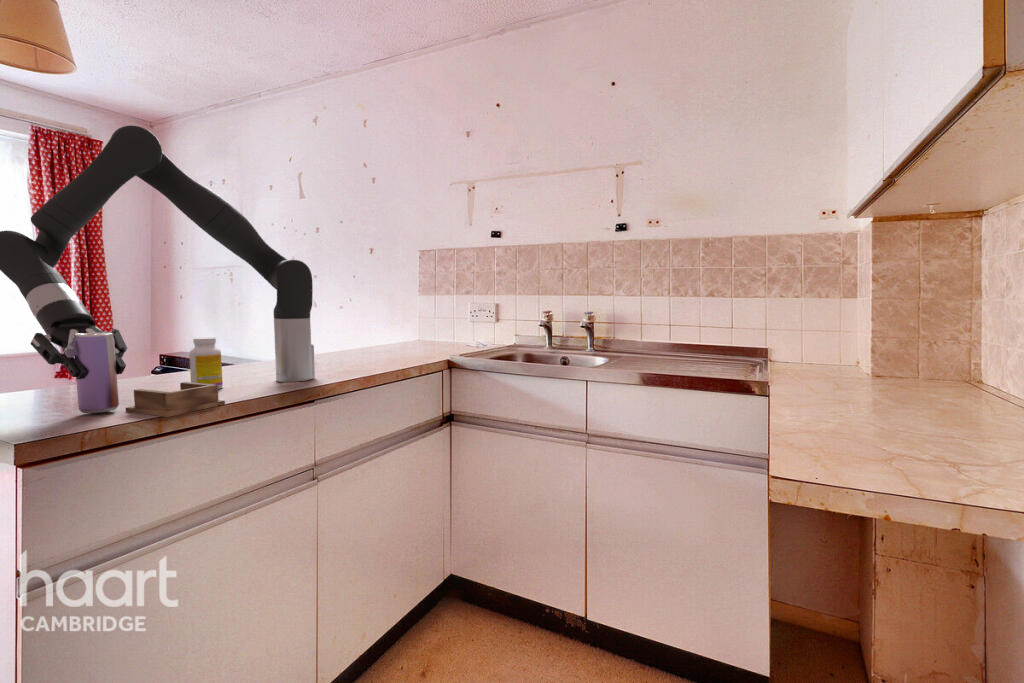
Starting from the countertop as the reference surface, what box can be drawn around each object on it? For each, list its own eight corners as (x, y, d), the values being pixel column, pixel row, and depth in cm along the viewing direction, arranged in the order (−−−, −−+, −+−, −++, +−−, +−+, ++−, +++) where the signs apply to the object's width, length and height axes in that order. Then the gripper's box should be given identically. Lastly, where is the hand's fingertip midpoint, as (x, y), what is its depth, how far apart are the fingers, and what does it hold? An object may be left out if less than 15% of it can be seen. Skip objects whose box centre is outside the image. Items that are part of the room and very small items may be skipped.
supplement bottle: (228, 388, 120) (226, 337, 119) (202, 392, 114) (199, 339, 113) (211, 386, 123) (209, 336, 122) (185, 390, 117) (182, 338, 116)
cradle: (185, 400, 106) (184, 380, 105) (224, 404, 102) (223, 384, 101) (125, 411, 95) (124, 390, 94) (167, 416, 90) (165, 394, 90)
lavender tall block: (95, 414, 90) (89, 335, 88) (70, 412, 91) (64, 334, 89) (127, 407, 95) (121, 332, 94) (102, 406, 97) (97, 332, 95)
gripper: (19, 298, 87) (63, 366, 84) (109, 298, 100) (150, 356, 97) (5, 326, 89) (48, 393, 86) (95, 322, 103) (135, 380, 100)
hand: (102, 373), depth 92 cm, fingers closed on lavender tall block, 6 cm apart
